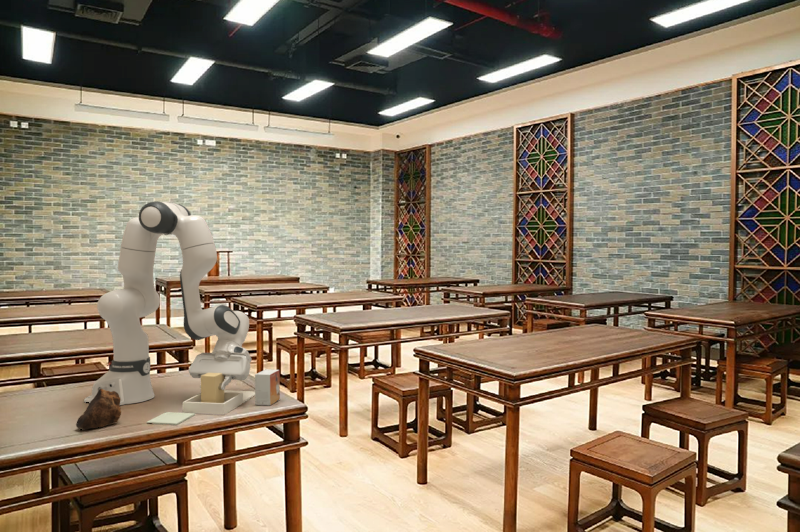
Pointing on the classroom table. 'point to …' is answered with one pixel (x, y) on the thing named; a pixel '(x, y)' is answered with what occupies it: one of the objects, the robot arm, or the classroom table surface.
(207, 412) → the box
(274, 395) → the small box
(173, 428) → the classroom table surface
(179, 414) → the sage mat
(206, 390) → the block
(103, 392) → the decorative rock
